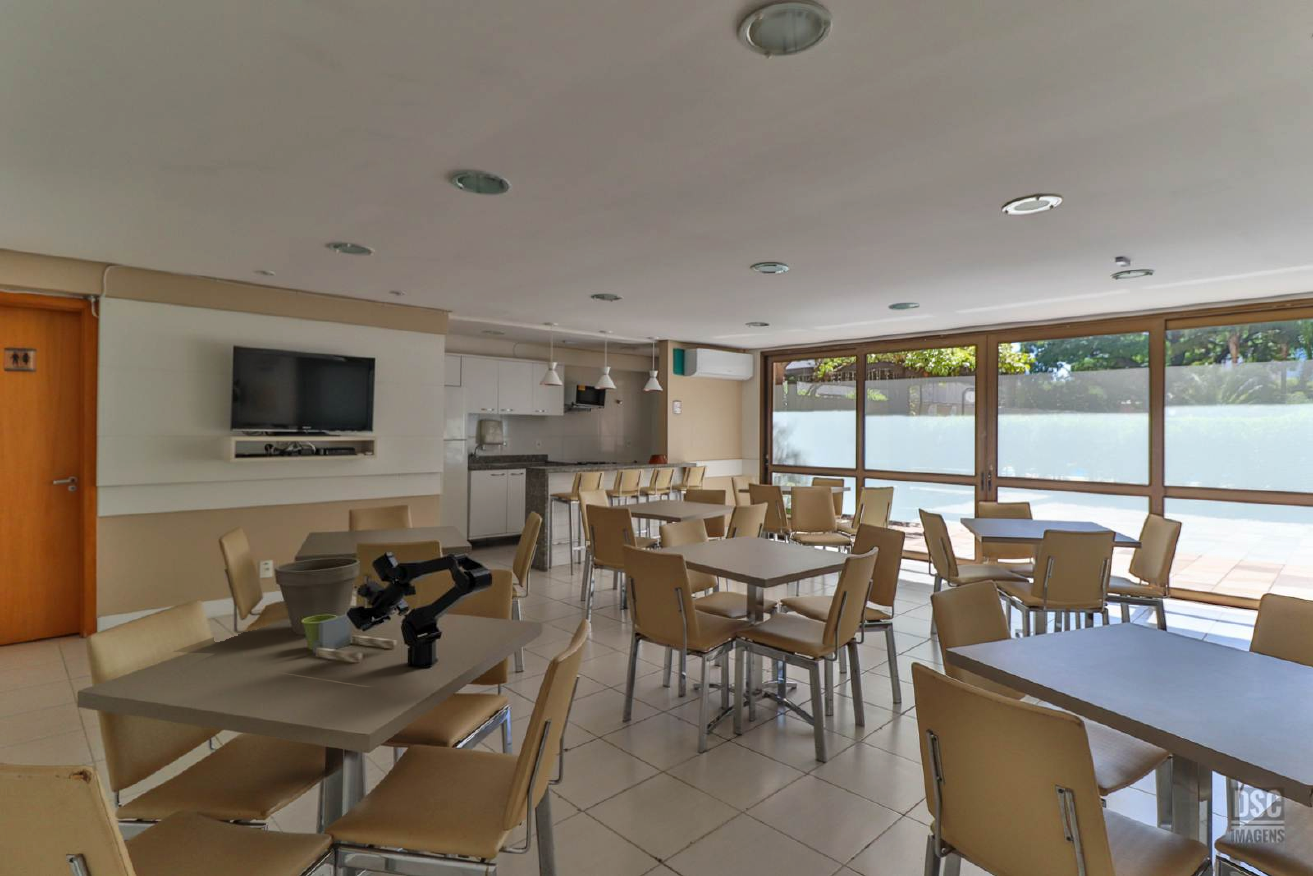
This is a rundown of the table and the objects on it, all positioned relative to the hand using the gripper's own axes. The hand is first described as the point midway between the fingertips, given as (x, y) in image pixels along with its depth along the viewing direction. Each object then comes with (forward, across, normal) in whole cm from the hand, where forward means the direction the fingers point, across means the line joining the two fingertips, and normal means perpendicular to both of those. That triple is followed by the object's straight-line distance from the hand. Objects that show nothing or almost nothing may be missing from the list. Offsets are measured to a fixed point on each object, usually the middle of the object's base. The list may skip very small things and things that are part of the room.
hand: (363, 630), depth 190 cm
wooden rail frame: (+7, 0, +3) cm, 7 cm away
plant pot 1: (+29, -15, -20) cm, 38 cm away
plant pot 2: (+17, 0, -7) cm, 19 cm away
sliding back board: (+13, 0, -4) cm, 14 cm away
